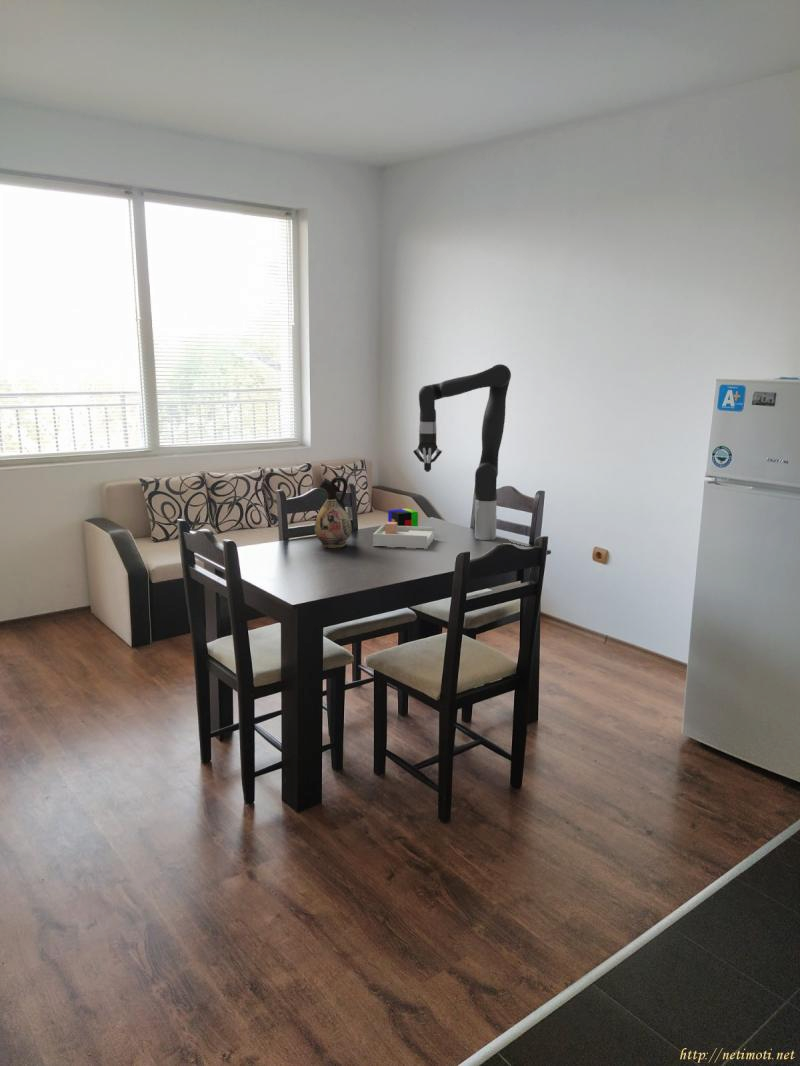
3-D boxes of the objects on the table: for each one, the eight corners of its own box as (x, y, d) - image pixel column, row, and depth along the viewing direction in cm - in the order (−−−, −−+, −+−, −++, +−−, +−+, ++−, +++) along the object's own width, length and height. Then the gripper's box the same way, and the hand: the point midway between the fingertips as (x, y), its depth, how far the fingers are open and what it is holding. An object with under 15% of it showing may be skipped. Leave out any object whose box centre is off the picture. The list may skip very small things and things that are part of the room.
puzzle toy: (388, 531, 352) (388, 510, 350) (407, 529, 357) (407, 508, 355) (398, 535, 344) (398, 513, 342) (417, 533, 348) (417, 511, 346)
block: (397, 532, 331) (397, 522, 330) (395, 534, 327) (395, 524, 326) (387, 531, 332) (387, 521, 331) (385, 534, 328) (385, 523, 327)
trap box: (433, 539, 336) (433, 527, 335) (426, 548, 318) (427, 536, 317) (382, 537, 340) (382, 525, 339) (373, 546, 323) (373, 533, 322)
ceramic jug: (313, 550, 316) (312, 478, 310) (316, 542, 331) (314, 473, 325) (355, 550, 317) (354, 478, 310) (355, 541, 332) (354, 473, 325)
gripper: (444, 431, 336) (443, 470, 339) (414, 431, 338) (414, 470, 342) (441, 433, 328) (441, 473, 332) (411, 432, 331) (411, 472, 335)
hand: (427, 471), depth 337 cm, fingers closed
